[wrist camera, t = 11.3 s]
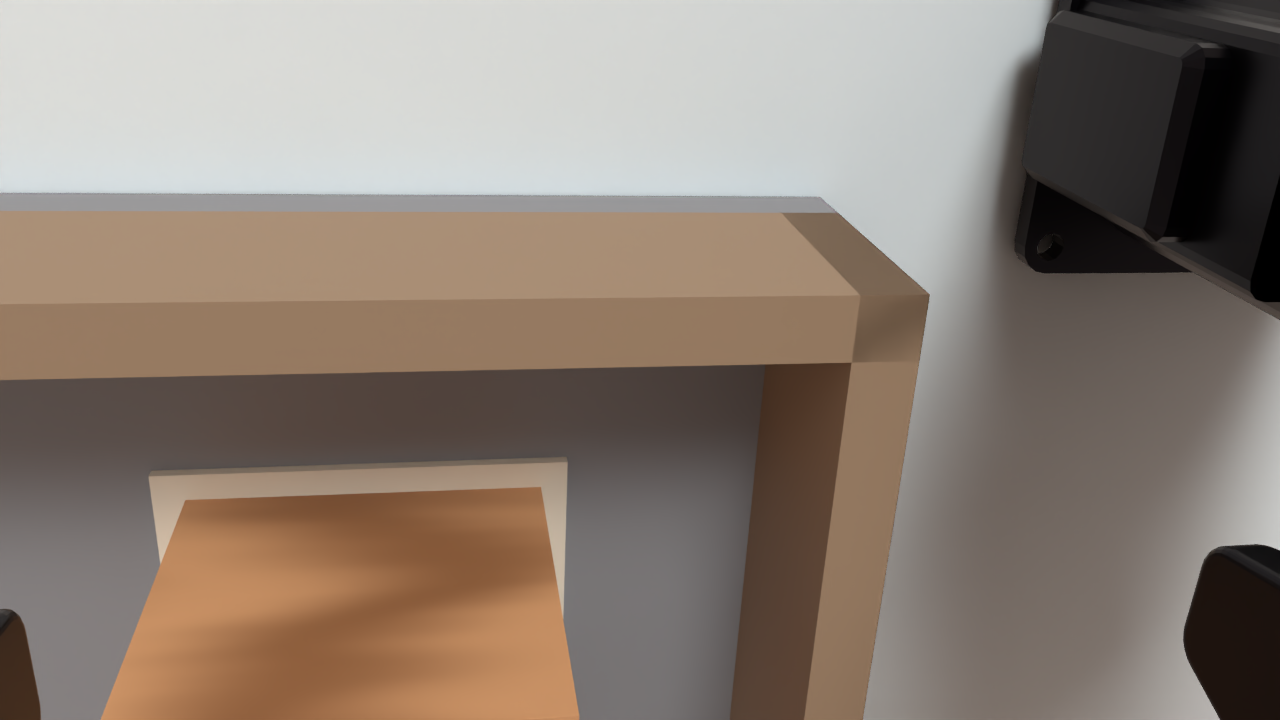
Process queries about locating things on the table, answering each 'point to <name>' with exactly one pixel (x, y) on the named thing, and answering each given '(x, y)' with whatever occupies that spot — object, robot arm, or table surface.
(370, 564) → the block
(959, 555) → the table surface
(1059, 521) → the table surface
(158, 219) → the arena
